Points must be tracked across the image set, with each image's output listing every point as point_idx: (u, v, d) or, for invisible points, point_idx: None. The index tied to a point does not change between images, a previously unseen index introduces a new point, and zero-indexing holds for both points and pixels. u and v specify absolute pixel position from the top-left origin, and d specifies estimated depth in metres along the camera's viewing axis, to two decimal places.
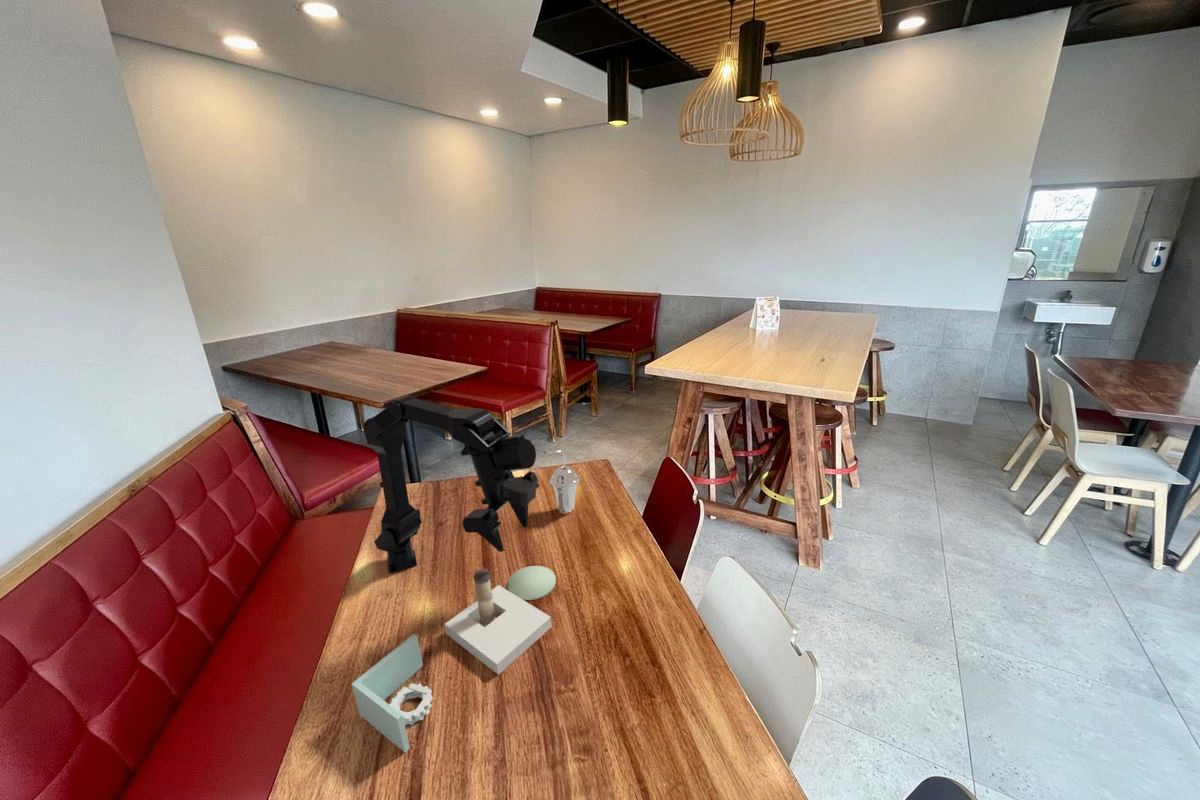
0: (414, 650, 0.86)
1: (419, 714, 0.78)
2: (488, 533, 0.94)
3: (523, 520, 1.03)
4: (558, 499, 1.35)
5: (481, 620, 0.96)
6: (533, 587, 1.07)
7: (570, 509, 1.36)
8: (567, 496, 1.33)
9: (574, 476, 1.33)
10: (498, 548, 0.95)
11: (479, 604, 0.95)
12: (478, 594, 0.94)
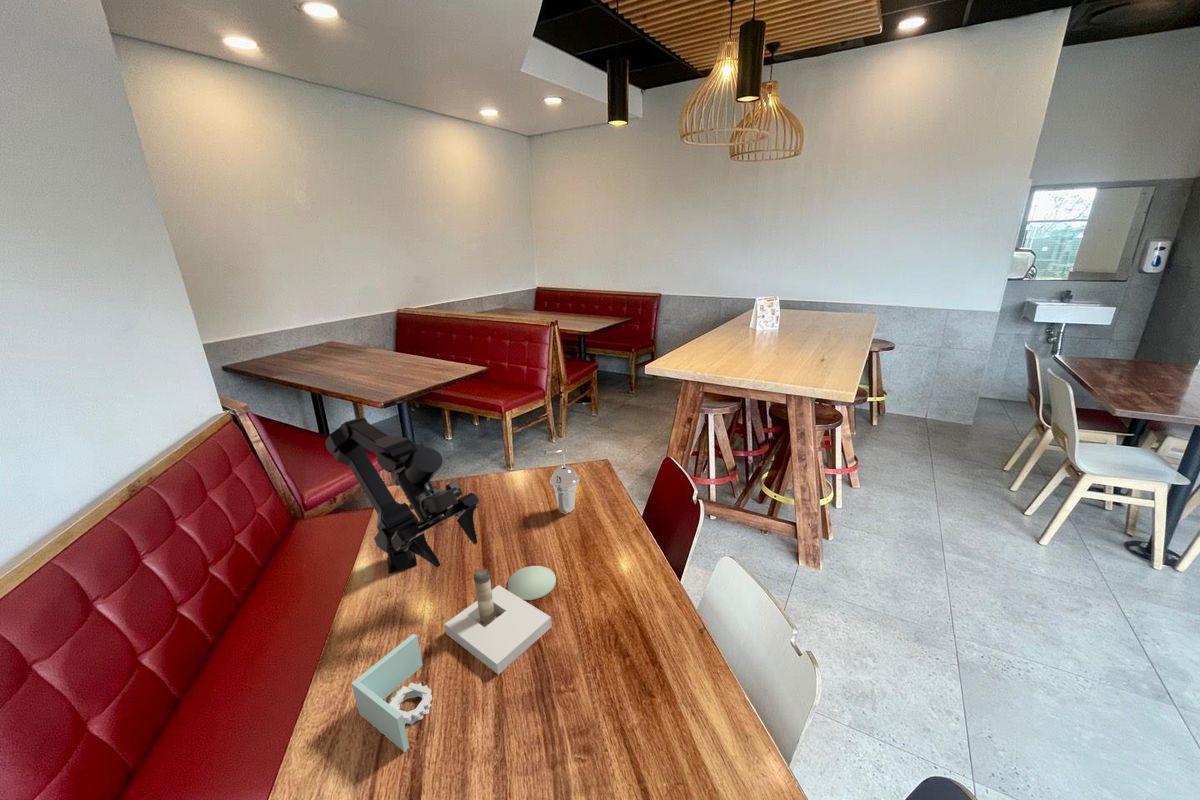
0: (414, 649, 0.86)
1: (419, 714, 0.78)
2: (420, 549, 0.95)
3: (471, 537, 1.02)
4: (558, 499, 1.35)
5: (481, 620, 0.96)
6: (533, 587, 1.07)
7: (570, 509, 1.36)
8: (567, 496, 1.33)
9: (574, 476, 1.33)
10: (434, 562, 0.95)
11: (479, 604, 0.95)
12: (478, 594, 0.94)
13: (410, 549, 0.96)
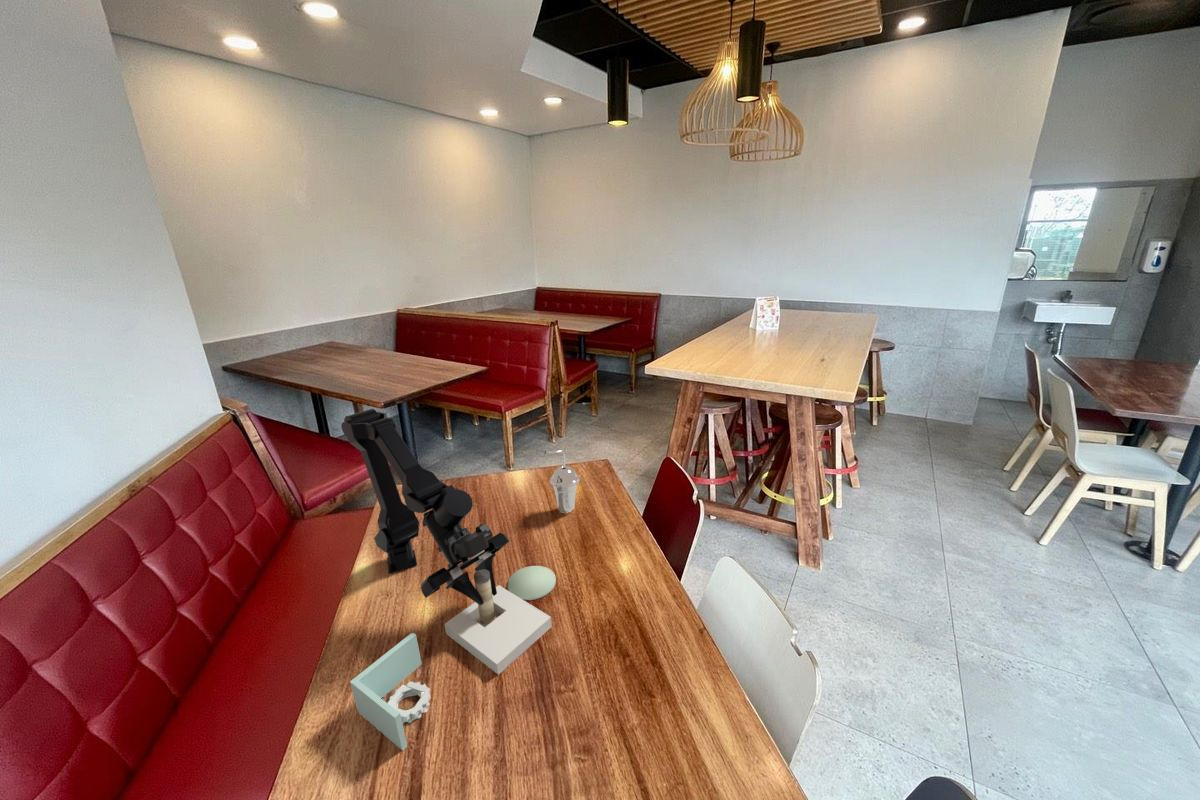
0: (413, 648, 0.86)
1: (417, 712, 0.78)
2: (463, 587, 0.94)
3: None
4: (558, 499, 1.35)
5: (481, 620, 0.96)
6: (533, 587, 1.07)
7: (570, 509, 1.36)
8: (567, 496, 1.33)
9: (574, 476, 1.33)
10: (477, 601, 0.93)
11: None
12: None
13: (453, 587, 0.95)
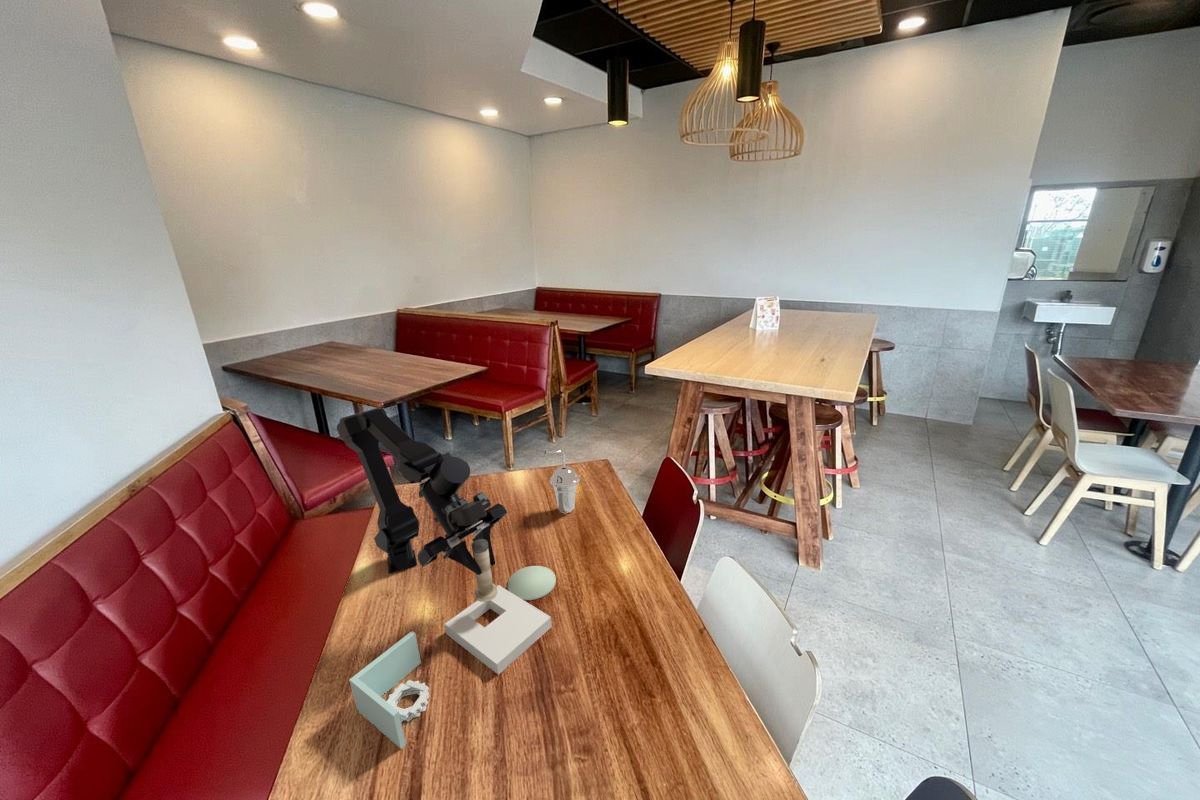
0: (412, 647, 0.87)
1: (416, 711, 0.78)
2: (461, 557, 0.92)
3: None
4: (558, 499, 1.35)
5: (479, 591, 0.94)
6: (533, 587, 1.07)
7: (570, 509, 1.36)
8: (567, 496, 1.33)
9: (574, 476, 1.33)
10: (475, 570, 0.92)
11: None
12: None
13: (450, 557, 0.93)
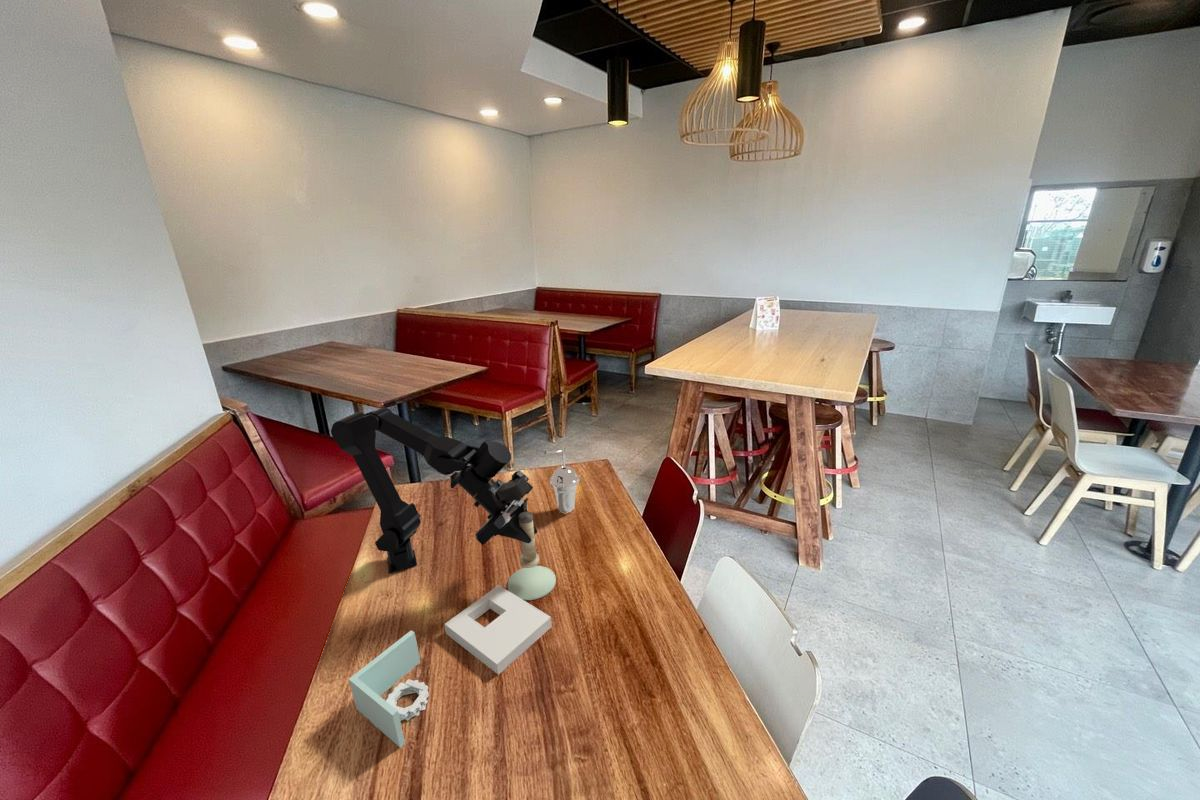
0: (411, 646, 0.87)
1: (415, 710, 0.79)
2: (510, 530, 1.02)
3: None
4: (558, 499, 1.35)
5: (526, 559, 1.05)
6: (533, 587, 1.07)
7: (570, 509, 1.36)
8: (567, 496, 1.33)
9: (574, 476, 1.33)
10: (526, 539, 1.02)
11: (525, 543, 1.04)
12: None
13: (499, 533, 1.02)
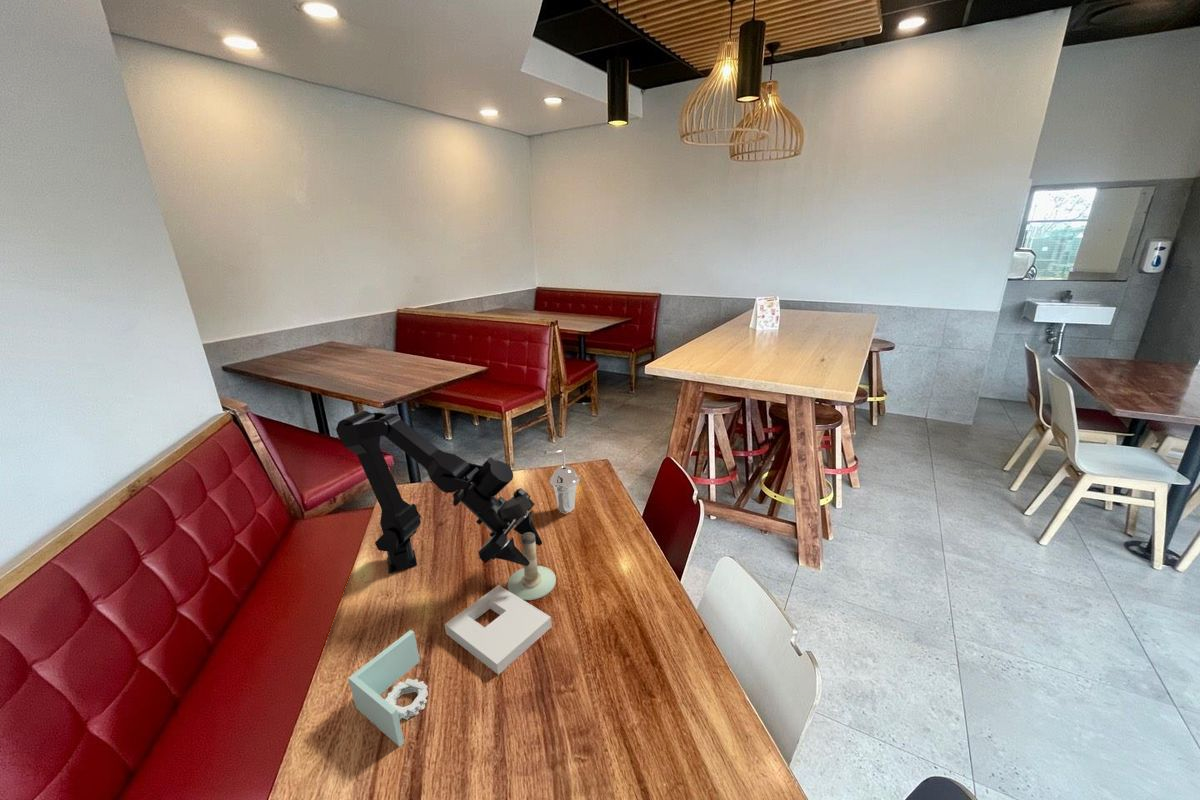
0: (411, 646, 0.87)
1: (414, 709, 0.79)
2: (508, 554, 1.01)
3: (536, 539, 1.09)
4: (558, 499, 1.35)
5: (528, 579, 1.07)
6: (533, 587, 1.07)
7: (570, 509, 1.36)
8: (567, 496, 1.33)
9: (574, 476, 1.33)
10: (524, 562, 1.02)
11: None
12: (527, 554, 1.05)
13: (497, 556, 1.01)
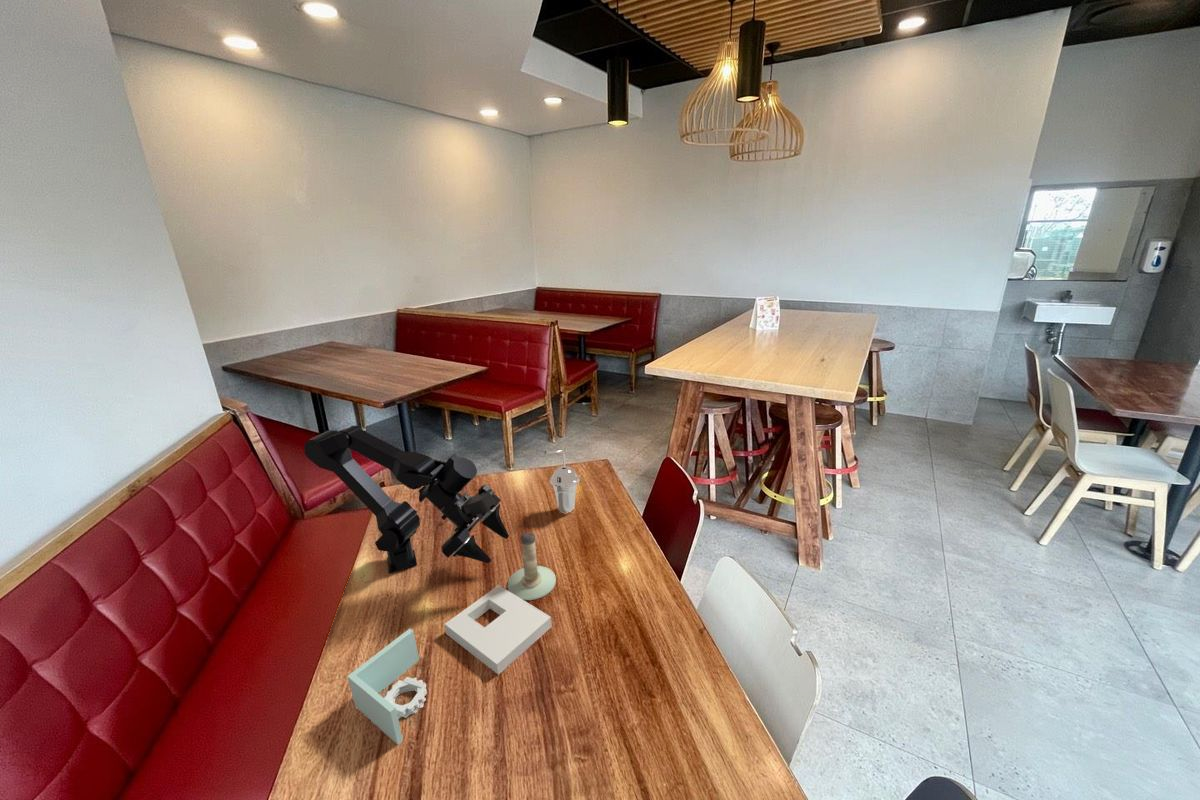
0: (410, 644, 0.87)
1: (413, 707, 0.79)
2: (470, 551, 1.03)
3: (502, 532, 1.12)
4: (558, 499, 1.35)
5: (528, 579, 1.07)
6: (533, 587, 1.07)
7: (570, 509, 1.36)
8: (567, 496, 1.33)
9: (574, 476, 1.33)
10: (485, 559, 1.03)
11: (527, 564, 1.05)
12: (527, 555, 1.05)
13: (458, 554, 1.03)
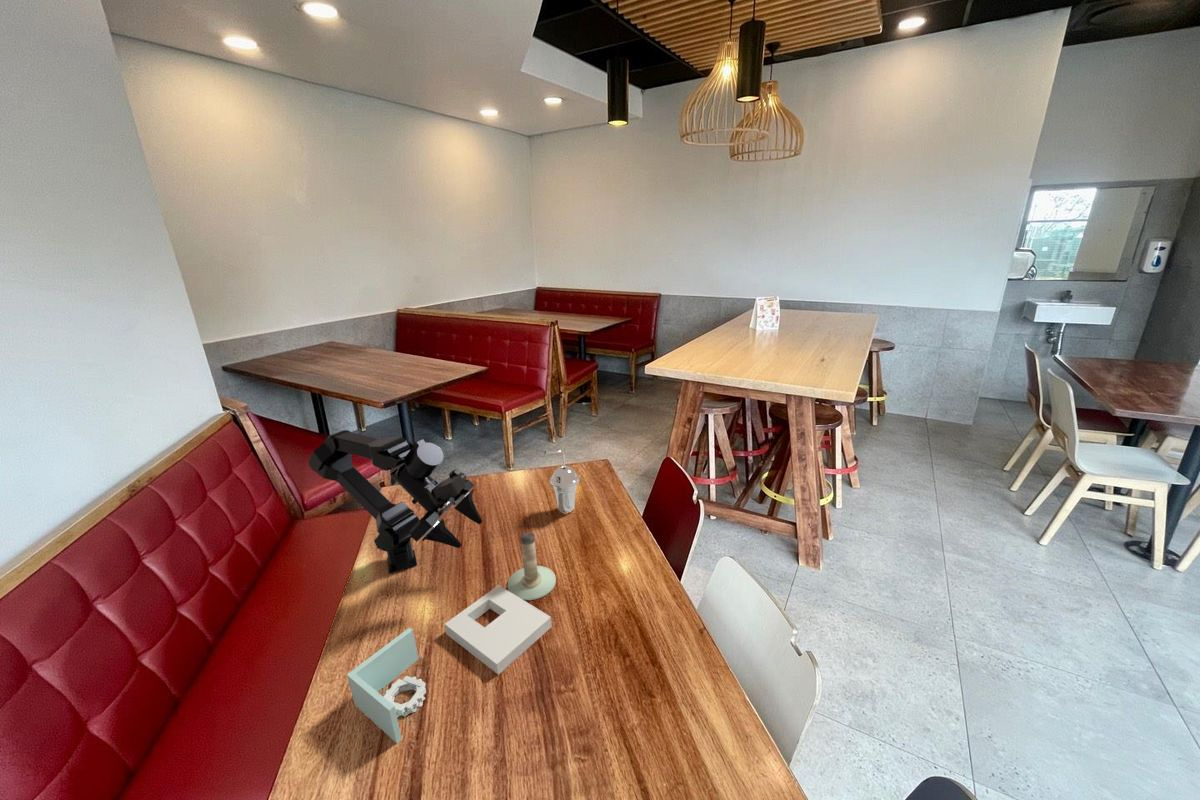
0: (409, 643, 0.88)
1: (412, 706, 0.79)
2: (439, 535, 1.01)
3: (475, 517, 1.10)
4: (558, 499, 1.35)
5: (528, 579, 1.07)
6: (533, 587, 1.07)
7: (570, 509, 1.36)
8: (567, 496, 1.33)
9: (574, 476, 1.33)
10: (455, 544, 1.01)
11: (527, 564, 1.05)
12: (527, 554, 1.05)
13: (428, 538, 1.01)
